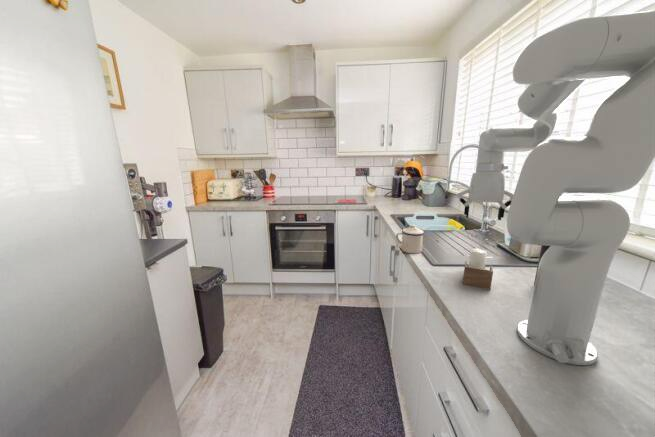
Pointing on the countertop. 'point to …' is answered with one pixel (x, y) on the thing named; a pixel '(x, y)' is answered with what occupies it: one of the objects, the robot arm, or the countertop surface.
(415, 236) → the teacup with lid
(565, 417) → the countertop surface
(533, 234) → the robot arm
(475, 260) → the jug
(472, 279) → the caddy
